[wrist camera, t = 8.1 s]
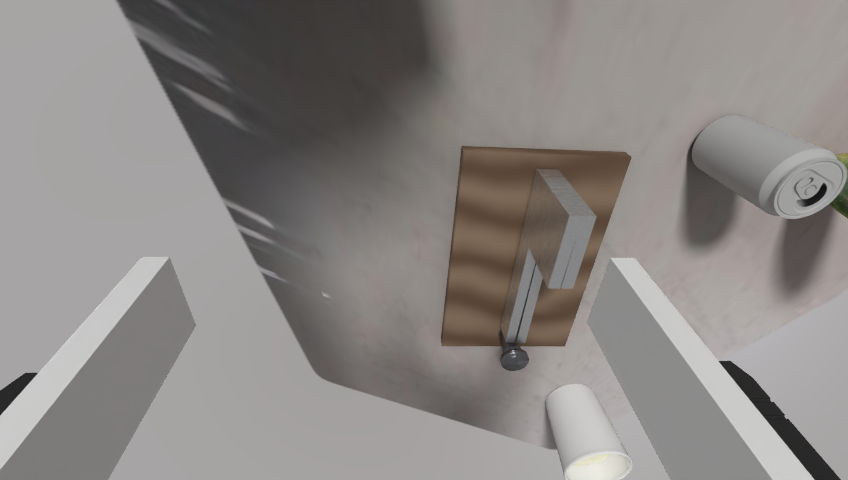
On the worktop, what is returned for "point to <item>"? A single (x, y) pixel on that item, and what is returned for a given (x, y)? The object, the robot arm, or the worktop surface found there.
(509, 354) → the tongs hinge post
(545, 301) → the walnut board
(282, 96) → the worktop surface
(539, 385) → the worktop surface
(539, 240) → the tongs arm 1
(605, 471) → the candle holder
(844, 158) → the vegetable
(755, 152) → the beverage can
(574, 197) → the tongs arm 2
